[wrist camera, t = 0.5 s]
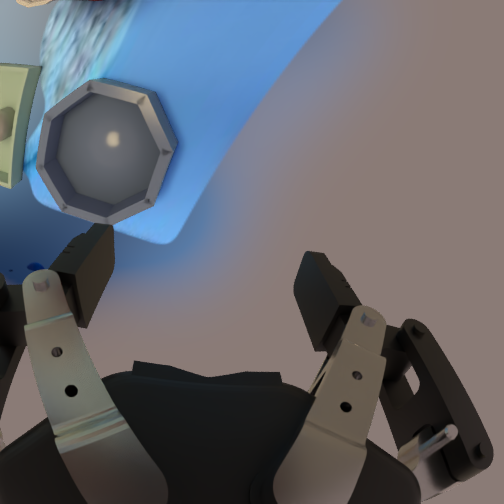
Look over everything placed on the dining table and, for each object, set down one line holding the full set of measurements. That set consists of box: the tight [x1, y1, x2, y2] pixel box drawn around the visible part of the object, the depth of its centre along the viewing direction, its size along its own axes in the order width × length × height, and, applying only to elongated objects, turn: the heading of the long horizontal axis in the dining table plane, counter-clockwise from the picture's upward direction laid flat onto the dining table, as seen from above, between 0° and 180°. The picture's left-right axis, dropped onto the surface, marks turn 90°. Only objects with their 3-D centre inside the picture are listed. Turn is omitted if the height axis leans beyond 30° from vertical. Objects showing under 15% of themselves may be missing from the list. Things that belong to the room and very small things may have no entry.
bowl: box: [36, 78, 178, 225], centre depth 26 cm, size 16×16×4 cm
